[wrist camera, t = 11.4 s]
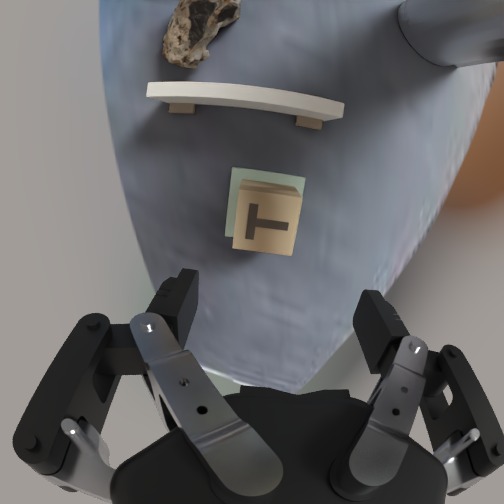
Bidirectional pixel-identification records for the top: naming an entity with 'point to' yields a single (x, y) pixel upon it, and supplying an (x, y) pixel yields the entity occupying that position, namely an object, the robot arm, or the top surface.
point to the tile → (256, 176)
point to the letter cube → (266, 217)
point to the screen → (246, 100)
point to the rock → (196, 29)
